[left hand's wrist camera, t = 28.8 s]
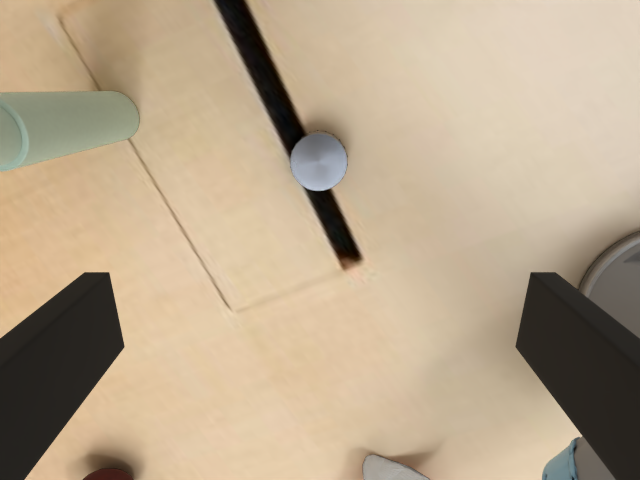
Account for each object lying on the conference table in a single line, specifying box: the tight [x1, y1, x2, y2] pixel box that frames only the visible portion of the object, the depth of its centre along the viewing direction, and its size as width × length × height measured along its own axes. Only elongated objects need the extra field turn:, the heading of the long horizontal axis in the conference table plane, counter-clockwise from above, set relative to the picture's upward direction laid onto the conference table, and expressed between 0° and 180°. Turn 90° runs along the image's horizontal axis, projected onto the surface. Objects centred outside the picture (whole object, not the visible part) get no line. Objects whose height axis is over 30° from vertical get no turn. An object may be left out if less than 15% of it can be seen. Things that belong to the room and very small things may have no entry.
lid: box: [290, 130, 348, 191], centre depth 38 cm, size 5×5×2 cm
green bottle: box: [0, 91, 139, 171], centre depth 29 cm, size 4×4×17 cm
